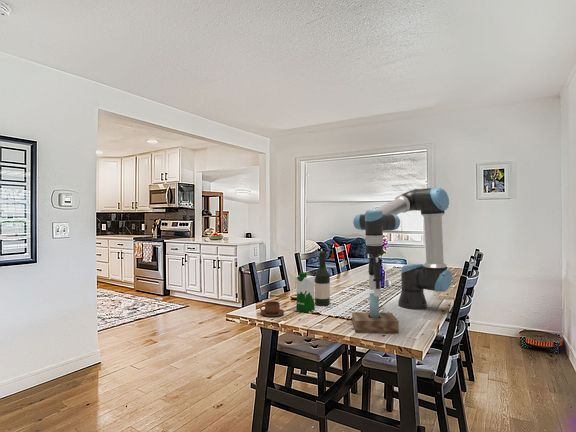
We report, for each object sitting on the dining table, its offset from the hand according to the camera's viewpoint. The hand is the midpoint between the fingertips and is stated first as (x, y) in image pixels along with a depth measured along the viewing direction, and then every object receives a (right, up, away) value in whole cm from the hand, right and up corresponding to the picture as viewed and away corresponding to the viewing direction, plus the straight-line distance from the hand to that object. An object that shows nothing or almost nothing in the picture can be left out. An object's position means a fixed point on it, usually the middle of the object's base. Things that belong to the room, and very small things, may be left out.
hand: (374, 292), depth 163 cm
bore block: (0, -15, 0) cm, 15 cm away
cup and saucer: (-46, -16, +22) cm, 54 cm away
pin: (0, -14, 0) cm, 14 cm away
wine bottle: (-19, -16, +43) cm, 50 cm away
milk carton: (-29, -16, +31) cm, 45 cm away
